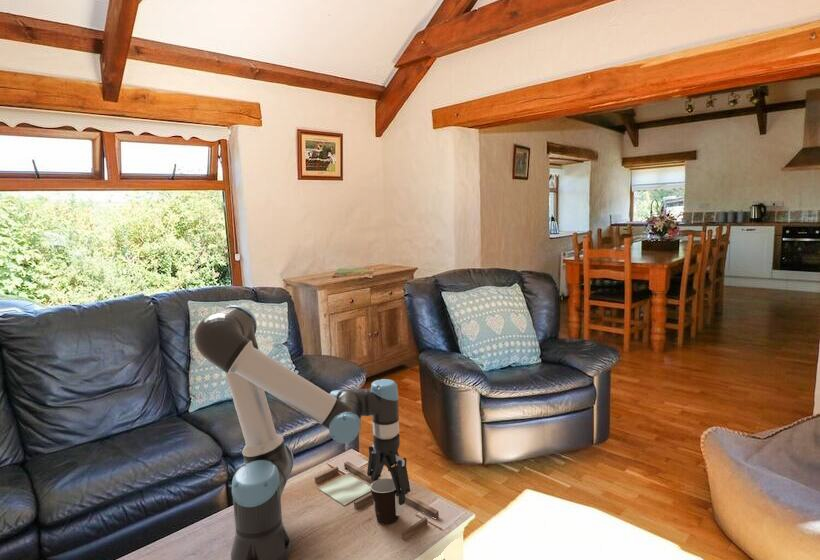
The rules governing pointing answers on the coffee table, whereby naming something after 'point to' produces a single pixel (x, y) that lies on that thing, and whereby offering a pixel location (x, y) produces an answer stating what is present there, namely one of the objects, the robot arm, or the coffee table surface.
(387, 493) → the coffee mug
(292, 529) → the coffee table surface
